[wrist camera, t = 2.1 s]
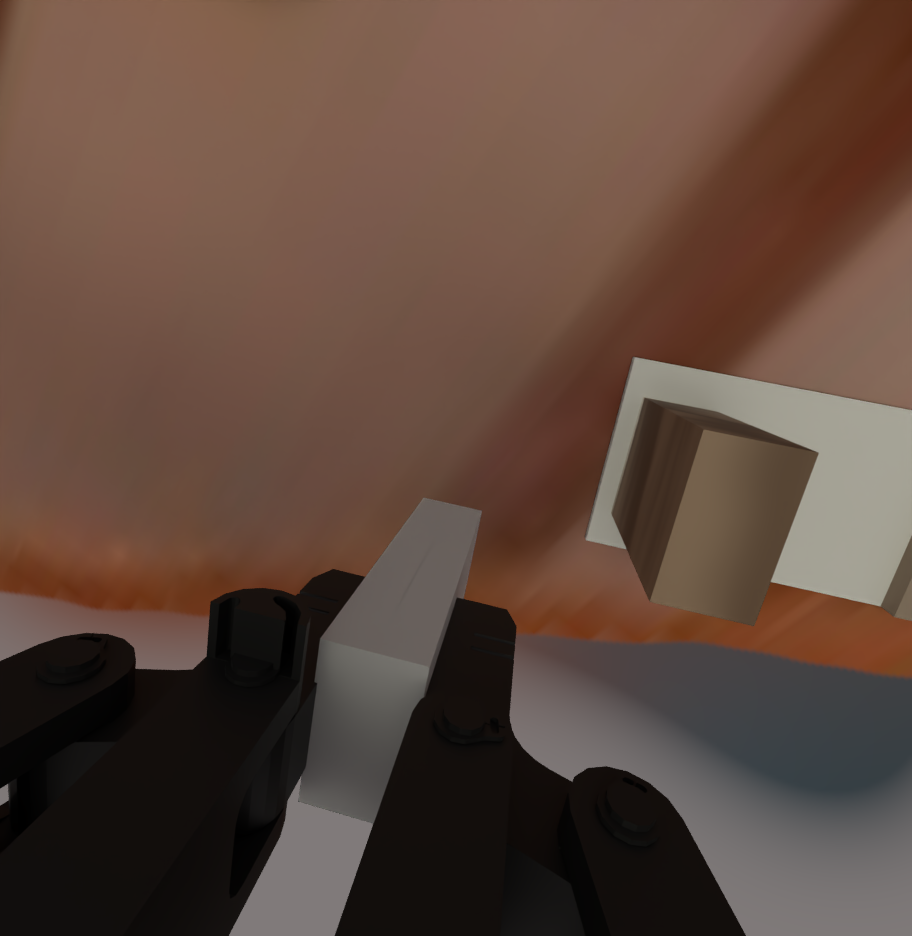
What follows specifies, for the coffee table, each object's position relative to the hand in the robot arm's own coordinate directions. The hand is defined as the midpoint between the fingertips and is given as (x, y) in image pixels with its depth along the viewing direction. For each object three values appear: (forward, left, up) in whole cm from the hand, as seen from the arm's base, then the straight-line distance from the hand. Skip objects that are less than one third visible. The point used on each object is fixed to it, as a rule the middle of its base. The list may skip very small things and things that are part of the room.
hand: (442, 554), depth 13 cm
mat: (+16, 0, -19) cm, 25 cm away
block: (+10, 0, -19) cm, 21 cm away
